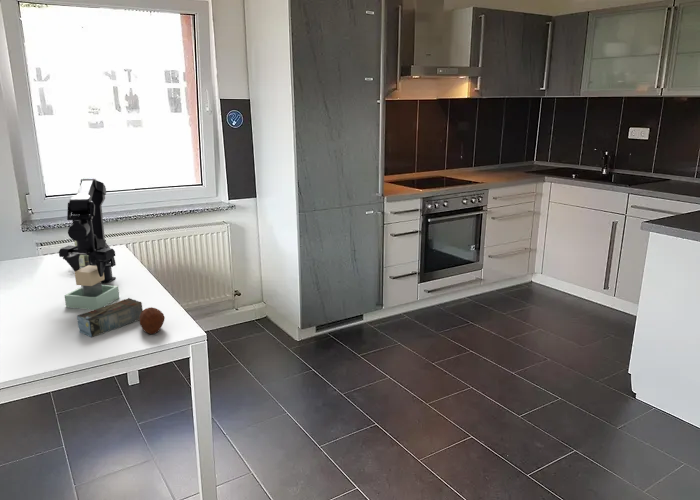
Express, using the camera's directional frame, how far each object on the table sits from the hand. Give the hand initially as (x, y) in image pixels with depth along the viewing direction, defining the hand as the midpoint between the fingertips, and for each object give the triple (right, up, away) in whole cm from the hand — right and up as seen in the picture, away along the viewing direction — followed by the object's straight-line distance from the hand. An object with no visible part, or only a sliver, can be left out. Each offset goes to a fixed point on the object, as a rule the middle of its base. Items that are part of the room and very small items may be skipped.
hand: (90, 275), depth 192 cm
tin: (0, -9, +3) cm, 10 cm away
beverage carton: (+15, -16, -16) cm, 27 cm away
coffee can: (-22, +2, +45) cm, 50 cm away
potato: (+30, -17, -19) cm, 40 cm away
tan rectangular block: (0, -2, +1) cm, 2 cm away
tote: (0, -10, +3) cm, 10 cm away
